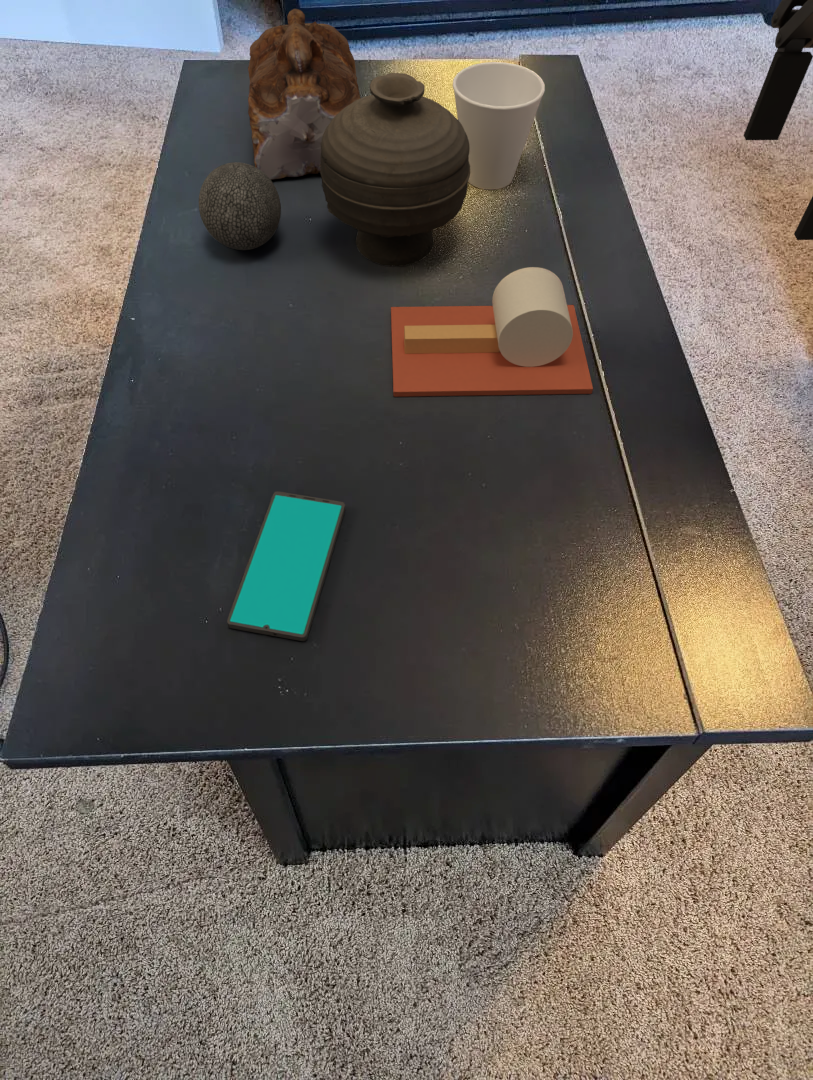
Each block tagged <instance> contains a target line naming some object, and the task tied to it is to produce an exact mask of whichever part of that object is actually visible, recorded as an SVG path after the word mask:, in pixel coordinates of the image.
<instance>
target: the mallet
mask: <svg viewBox="0 0 813 1080" xmlns="http://www.w3.org/2000/svg"><path fill="white" fill-rule="evenodd" d="M565 294H566V293H565V290H564V285H563V282H562V280H561V279H560V277H558V275H557V274H555V273H554V272H553V271H551V270H549V269H547V268H544V267H537V266H530V267H529V266H528V267H522V268H519V269H517V270H514V271H512V272H510V273H508V274H507V275H506V276H504V277H503V278H502V279H501V280H500V281H499V283H498V284H497V285H496V287H495V289H494V290H493V294H492V298H491V300H492V301H491V303H492V306H493V311H494V318H495V325H426V326H404V346H405V354H419V353H490V352H501V354H502V355H503V357H504V358H505V359H506V360H508V361H509V362H511V363H513V364H515V365H519V366H524V367H535V366H541V365H544V364H547V363H550V362H552V361H554V360H555V359H557V358H558V357H560V356H561V355H562V354H563V353H564V352H565V351H566V350H567V348H568V347H569V345H570V343H571V341H572V337H573V330H572V325H571V321H570V316H569V312H568V307H567V305H568V303H567V299H566V295H565Z"/></svg>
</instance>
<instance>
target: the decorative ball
mask: <svg viewBox="0 0 813 1080" xmlns="http://www.w3.org/2000/svg"><path fill="white" fill-rule="evenodd" d="M198 211H199V215H200V218H201V222H202V224H203V225H204V227H205V229H206V230H207V232H208V234H209V235H210V236H211V237H212V238H213V239H214V240H215V241H217V242H218V243H220V244H221V245H223V246H224V247H227V248H229V249H232V250H238V251H249V250H254V249H257V248H259V247H261V246H263V245H265V244H267V242H268V241H270V239H271V238H272V237H273V236H274V234H275V233H276V232H277V229H278V227H279V225H280V222H281V217H282V216H281V215H282V204H281V200H280V195H279V193H278V190H277V187H276V185H275V184H274V182H273V181H272V180H270V178H269V177H268V176H267V175H266V174H265V173H263V172H262V171H261V170H259V169H258V168H256V167H255V165H251V164H248V163H246V162H239V161H237V162H235V161H233V162H228V163H224V164H221V165H219V166H217V167H215V168H214V169H212V171H211V172H209V173H208V174H207V176H206V177H205V179H204V181H203V183H202V184H201V187H200V190H199V194H198Z"/></svg>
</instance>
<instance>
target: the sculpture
mask: <svg viewBox="0 0 813 1080" xmlns="http://www.w3.org/2000/svg"><path fill="white" fill-rule="evenodd" d="M286 18H287V24H280V25H276V26H272V27H269V28H266V29H265V30H264V31H263V32H262V33H261V34H260V36H259V37H258V38H257V39H256V40H254V41H253V42H252V43H251V45H250V46H249V57H250V58H249V63H248V66H247V70H248V79H249V88H248V89H249V91H248V97H247V103H248V106H247V107H248V108H247V109H248V110H247V114H248V116H249V125H250V129H251V143H252V151H253V158H254V159H253V163H254V167H256V168H258V169H259V170H261V171H262V172H263V173H265V174H266V175H267V176H268V177H269V178H270V180H271V181H272V180H280V179H285V178H297V177H303V176H305V175H318V174H321V173H320V170H321V168H320V167H321V165H320V164H321V162H320V159H321V140H322V137H323V134H324V131H325V129H326V128H327V126H328V125H329V124H330V122H331V120H332V119H333V118H334V117H335V116H336V115H337V114H338V113H339V112H340V111H341V110H342V109H344V108H345V107H346V106H348V105H350V104H351V103H353V102H354V101H356V100H358V99H360V98H362V97H361V93H360V87H359V84H358V77H357V68H356V60H355V58H354V54H353V53H352V51H351V49H350V44H349V41H348V39H347V37H346V36H344V35H343V34H342V33H341V32H339V30H338V29H337V28H335V27H334V26H332V25H330V24H329V23H318V22H317V21H314V22H306V14H305V13H304V11H302V10H301V9H298V8H293V9H291V10H290V11H289V12H288V14H287V17H286Z"/></svg>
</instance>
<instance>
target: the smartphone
mask: <svg viewBox="0 0 813 1080" xmlns="http://www.w3.org/2000/svg"><path fill="white" fill-rule="evenodd" d="M345 513H346V504H345V502H344V501H339V500H333V499H328V498H321V497H315V496H308V495H302V494H296V493H290V492H285V491H278V490H276V491H274V492H273V494H272V496H271V498H270V502H269V504H268V507H267V510H266V513H265V515H264V518H263V521H262V524H261V526H260V528H259V531H258V535H257V536H256V539H255V543H254V546H253V548H252V551H251V553H250V556H249V558H248V561H247V564H246V567H245V569H244V573H243V574H242V577H241V580H240V583H239V585H238V588H237V591H236V594H235V596H234V600H233V602H232V605H231V608H230V611H229V614H228V616H227V619H226V623H227V625H228V627H229V628H230V629H234V630H239V631H245V632H250V633H255V634H260V635H261V634H262V635H265V636H266V635H267V636H273V637H277V638H282V639H283V638H284V639H288V640H294V641H299V642H305V641H307V640H308V638H309V634H310V631H311V627H312V625H313V621H314V618H315V614H316V611H317V608H318V603H319V600H320V597H321V594H322V590H323V587H324V583H325V581H326V576H327V574H328V569H329V567H330V563H331V560H332V556H333V553H334V549H335V546H336V543H337V539H338V536H339V532H340V529H341V526H342V522H343V519H344V516H345Z"/></svg>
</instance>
